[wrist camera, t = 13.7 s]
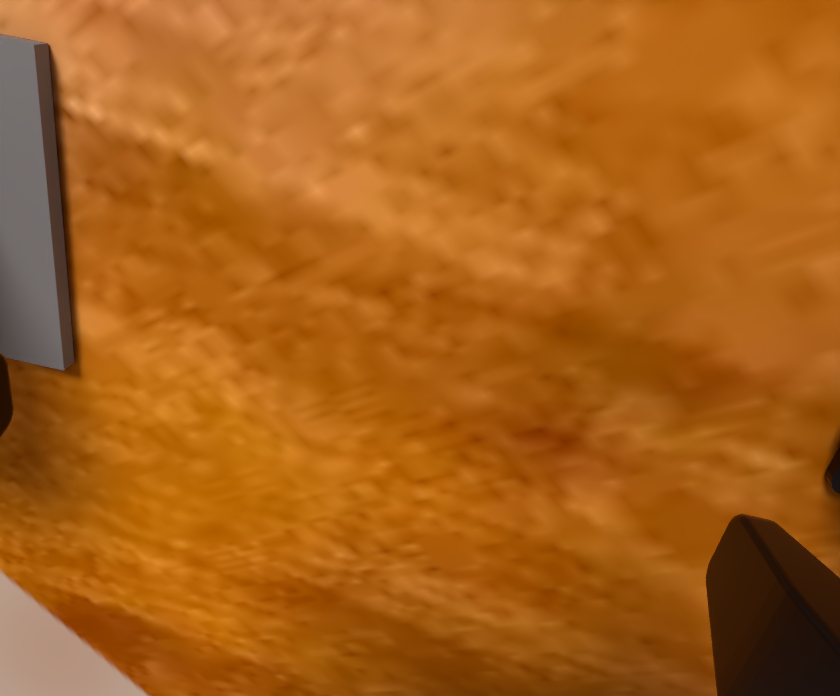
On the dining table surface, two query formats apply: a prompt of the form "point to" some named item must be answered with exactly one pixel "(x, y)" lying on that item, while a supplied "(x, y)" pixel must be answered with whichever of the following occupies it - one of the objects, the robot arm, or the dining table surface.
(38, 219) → the mat
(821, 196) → the dining table surface
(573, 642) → the dining table surface
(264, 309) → the dining table surface
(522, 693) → the dining table surface
